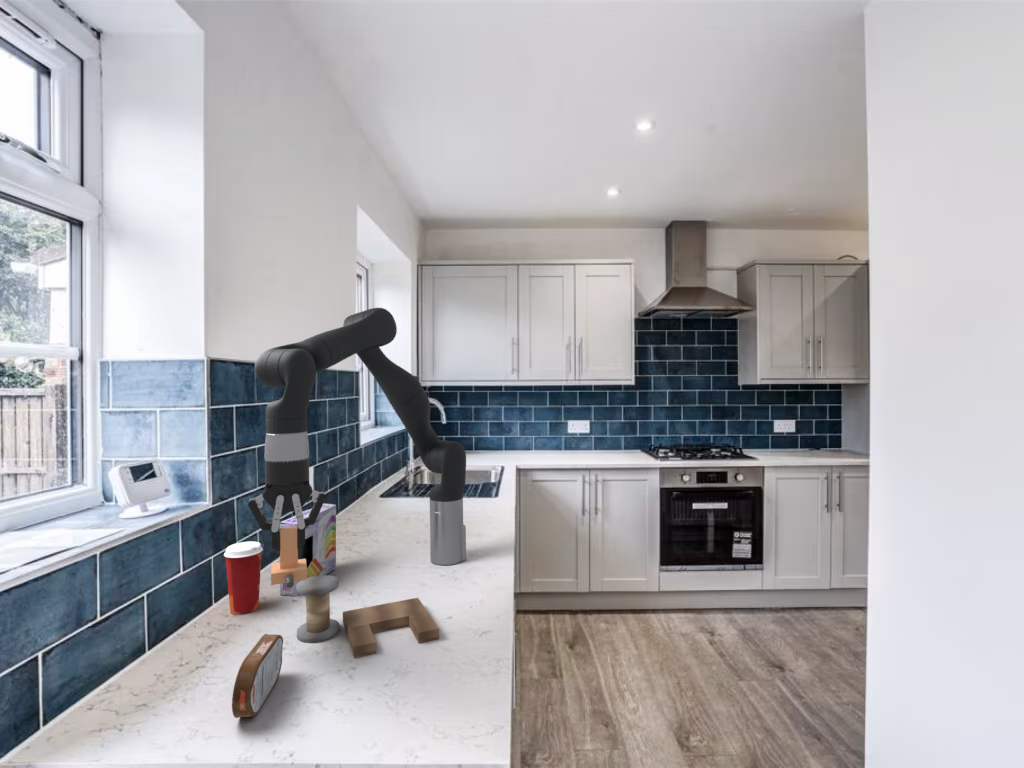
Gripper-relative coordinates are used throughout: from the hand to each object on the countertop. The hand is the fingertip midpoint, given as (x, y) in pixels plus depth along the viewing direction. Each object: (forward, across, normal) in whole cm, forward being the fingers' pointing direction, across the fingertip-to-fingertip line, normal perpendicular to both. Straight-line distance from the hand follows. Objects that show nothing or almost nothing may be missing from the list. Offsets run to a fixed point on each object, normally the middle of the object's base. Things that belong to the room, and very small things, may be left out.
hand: (288, 549), depth 97 cm
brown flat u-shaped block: (+19, -18, -1) cm, 26 cm away
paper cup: (+19, +9, -24) cm, 32 cm away
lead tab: (+5, 0, +2) cm, 6 cm away
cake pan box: (+19, -5, -34) cm, 40 cm away
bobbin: (+19, -5, -6) cm, 21 cm away
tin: (+19, +4, +14) cm, 24 cm away
